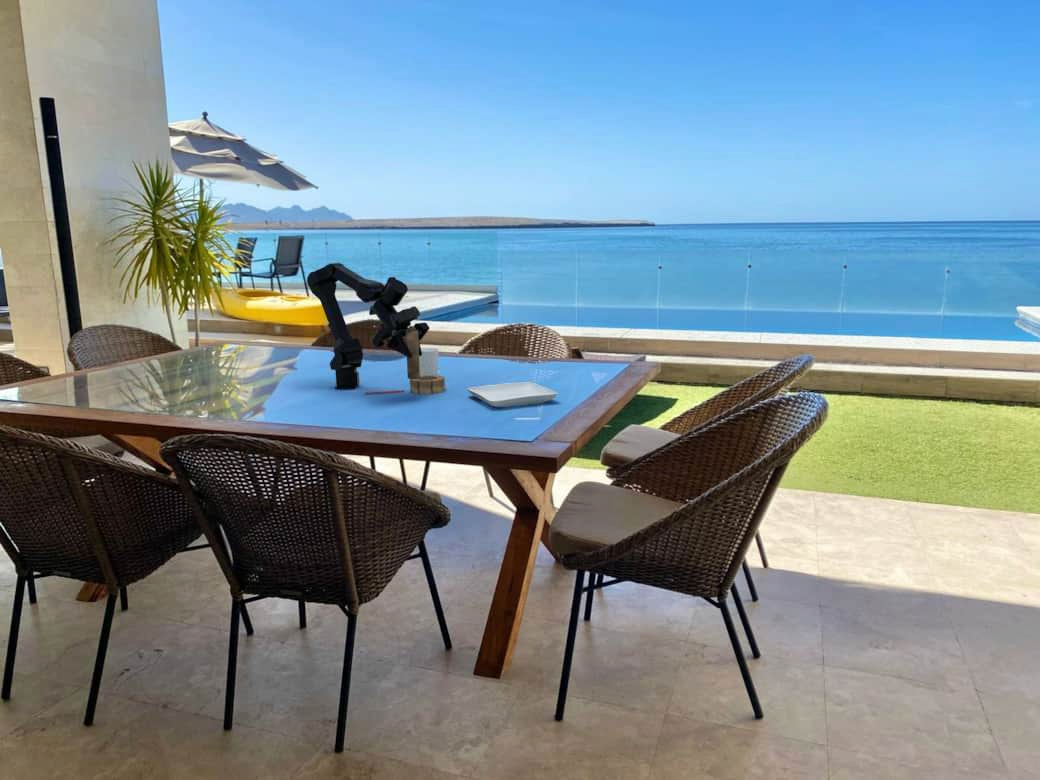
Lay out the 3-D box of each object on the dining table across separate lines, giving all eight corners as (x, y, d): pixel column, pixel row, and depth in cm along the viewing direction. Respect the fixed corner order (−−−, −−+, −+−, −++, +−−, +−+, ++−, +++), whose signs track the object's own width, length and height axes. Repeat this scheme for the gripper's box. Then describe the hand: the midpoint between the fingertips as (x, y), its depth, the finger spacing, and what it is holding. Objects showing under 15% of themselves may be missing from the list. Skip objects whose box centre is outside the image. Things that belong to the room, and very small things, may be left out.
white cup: (435, 381, 257) (434, 351, 255) (412, 380, 259) (411, 350, 257) (442, 376, 265) (441, 347, 263) (420, 375, 266) (419, 347, 264)
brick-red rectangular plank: (365, 394, 238) (364, 392, 238) (365, 393, 239) (365, 392, 239) (404, 392, 240) (404, 390, 240) (404, 391, 241) (404, 390, 241)
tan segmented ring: (408, 394, 237) (407, 381, 237) (414, 387, 248) (413, 375, 247) (442, 394, 237) (441, 381, 236) (446, 387, 247) (445, 374, 246)
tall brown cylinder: (406, 379, 226) (404, 326, 223) (408, 376, 230) (406, 325, 227) (418, 379, 226) (416, 326, 223) (420, 376, 230) (418, 325, 227)
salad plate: (465, 397, 233) (465, 386, 232) (530, 390, 241) (530, 380, 241) (491, 412, 214) (491, 400, 213) (560, 404, 222) (560, 393, 222)
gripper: (376, 300, 219) (405, 342, 214) (424, 295, 233) (451, 334, 228) (360, 326, 225) (387, 367, 221) (407, 319, 239) (433, 358, 235)
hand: (416, 356), depth 226 cm, fingers closed on tall brown cylinder, 4 cm apart
